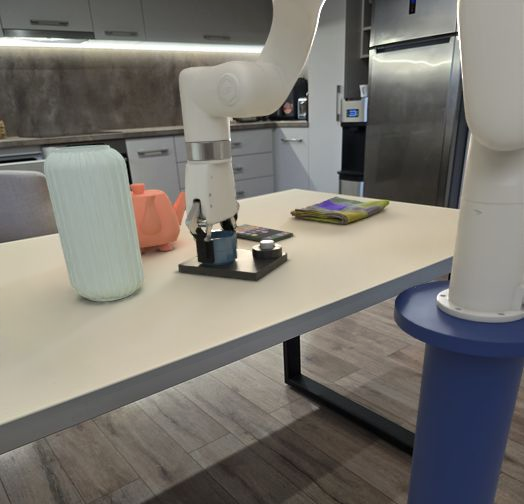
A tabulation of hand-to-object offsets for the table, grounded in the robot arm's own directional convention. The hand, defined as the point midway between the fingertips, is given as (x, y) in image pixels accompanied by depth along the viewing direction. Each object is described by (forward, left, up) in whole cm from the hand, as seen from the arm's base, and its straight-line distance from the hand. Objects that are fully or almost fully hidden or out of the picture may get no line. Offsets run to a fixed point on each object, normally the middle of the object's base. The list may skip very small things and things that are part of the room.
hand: (218, 256), depth 88 cm
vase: (+10, +18, -2) cm, 21 cm away
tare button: (-7, -6, 0) cm, 9 cm away
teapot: (+22, -8, -2) cm, 23 cm away
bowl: (0, 0, -1) cm, 1 cm away
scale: (-2, -2, -2) cm, 4 cm away
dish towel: (-6, -53, -2) cm, 53 cm away
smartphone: (+5, -25, -2) cm, 26 cm away
